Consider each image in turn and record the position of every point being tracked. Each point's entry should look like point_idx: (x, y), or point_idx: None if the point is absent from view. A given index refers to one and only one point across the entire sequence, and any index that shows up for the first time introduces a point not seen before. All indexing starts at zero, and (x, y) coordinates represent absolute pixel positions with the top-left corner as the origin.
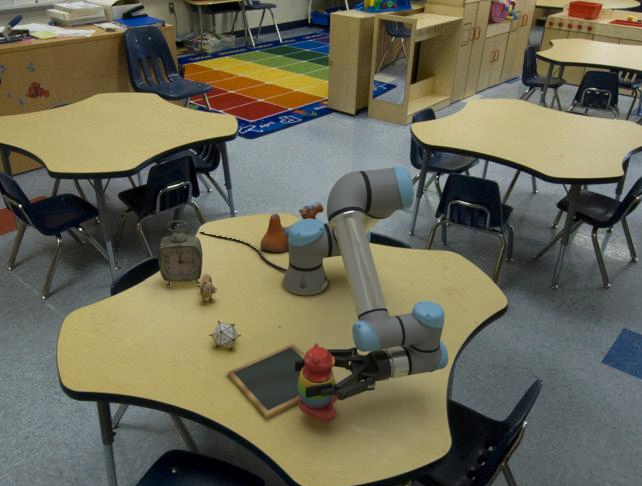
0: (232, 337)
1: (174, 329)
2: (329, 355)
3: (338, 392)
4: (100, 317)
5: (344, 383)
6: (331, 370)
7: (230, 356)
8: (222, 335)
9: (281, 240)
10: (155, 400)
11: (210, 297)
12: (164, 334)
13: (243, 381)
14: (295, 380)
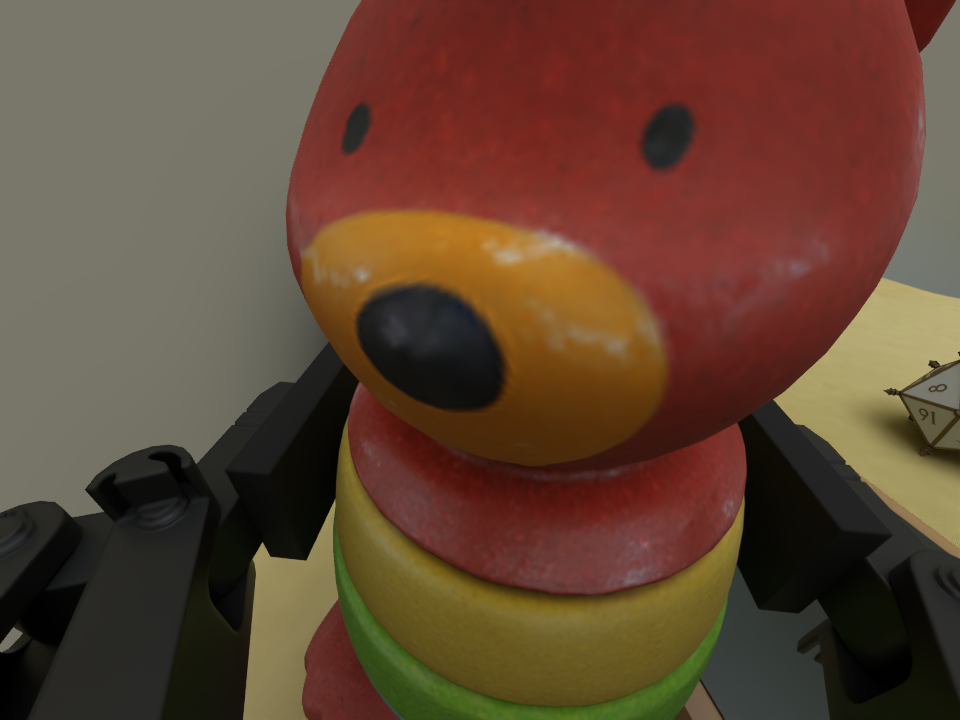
0: None
1: (931, 357)
2: (548, 66)
3: (82, 523)
4: (881, 285)
5: (30, 713)
6: (470, 528)
7: (876, 444)
8: (950, 372)
9: None
10: None
11: None
12: (890, 341)
13: None
14: (795, 644)
